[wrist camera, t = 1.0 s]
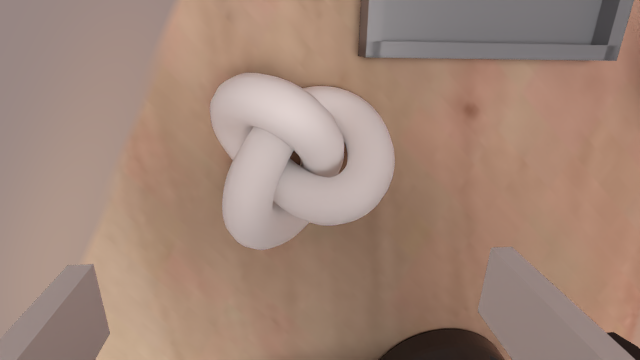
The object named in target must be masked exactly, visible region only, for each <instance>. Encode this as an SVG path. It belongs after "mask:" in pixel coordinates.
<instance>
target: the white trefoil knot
mask: <svg viewBox="0 0 640 360" xmlns="http://www.w3.org/2000/svg"><path fill="white" fill-rule="evenodd" d="M210 116H211V123H212V128H213V130H214V133H215V135H216V137H217V139H218V140H219V142H220V144H221V145H222V147H223V148H224V150H225V151H226V152H227V154H228V155H229V156H230V158H231V159H232V160H233V162H232V164H231V166H230V169H229V171H228V174H227V178H226V181H225V185H224V191H223V200H222V211H223V219H224V222H225V226H226V228H227V229H228V231H229V233H230V234H231V235H232V236H233V237H234V239H235V240H236V241H237V242H238V243H240V244H241V245H243V246H244V247H248V248H253V249H258V250H266V249H271V248H273V247H276V246H279V245H281V244H283V243H285V242H287V241H289V240H290V239H292V238H293V237H295V236H296V235H297V234H298V233H299V232H300V231H302V230H303V229H304V228H305V227H306V226H307V224H308V223H309V222H310V223H313V224H317V225H324V226H334V225H339V224H345V223H349V222H352V221H355V220H358V219H360V218H361V217H363V216H365V215H367V214H368V213H369V212H370V211H371V210H373V209H374V208H375V207H376V206H377V205H378V203H379V202H380V201H381V199H382V198H383V196H384V195H385V193H386V192H387V190H388V188H389V185H390V183H391V180H392V178H393V173H394V166H395V156H394V147H393V144H392V141H391V137H390V134H389V132H388V129H387V127H386V125H385V123H384V122H383V120H382V118H381V116H380V115H379V114H378V113H377V111H376V110H375V109H374V108H373V107H372V106H371V105H370V104H369V103H368V102H366V101H365V100H364V99H363V98H361V97H360V96H358V95H356V94H354V93H352V92H350V91H347V90H344V89H341V88H337V87H330V86H312V87H306V88H301V87H300V86H298V85H296V84H294V83H292V82H290V81H287V80H285V79H282V78H280V77H276V76H271V75H266V74H260V73H243V74H239V75H236V76H234V77H232V78H230V79H228V80H226V81H225V82H223V83H222V84H221V85H219V87H218V89H217V91H216V92H215V94H214V96H213V98H212V100H211V102H210ZM344 143H345V145H346V149H347V159H348V161H347V165H346V167H345V169H344V170H343V171H342V172H341V173H340V174H339V171H340V169H341V167H342V164H343V160H344ZM293 151H295V152H296V153H297V154H298V155H299V157H300V158H301V161H300V166H299V165H298V164H297V163H295V162H294V161H293V160H291V159H290V156H291V155H292V153H293Z"/></svg>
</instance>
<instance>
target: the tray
mask: <svg viewBox="0 0 640 360" xmlns="http://www.w3.org/2000/svg"><path fill="white" fill-rule="evenodd" d="M633 1H634V0H361V11H360V31H359V50H358V56H362V57H375V58H452V59H529V60H607V61H617V57H618V54H619V50H620V47H621V43H622V40H623V36H624V33H625V29H626V26H627V22H628V19H629V15H630V12H631V8H632V5H633Z"/></svg>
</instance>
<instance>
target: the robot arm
mask: <svg viewBox="0 0 640 360" xmlns="http://www.w3.org/2000/svg"><path fill="white" fill-rule="evenodd" d="M478 313H479V314H480V315H481V317H482V318H483V319H484V321H485V322H486V324H487V325H488V326H489V328H490V329H491V331H492V332H493V333H494V335H495V336H496V338H497V339H498V340H499V342H500V343H501V345H502V346H503V347H504V349H505V350H506V352H507V353H508V354H509V356H510V357H511V358H512V360H640V349H639V348H638V347H637V346H636V345H634V344H632V343H631V342H629V341H627V340H626V339H624V338H622V337H621V336H619V335H617V334H616V333H614V332H611V333H606V332H605V331H604V330H602V329H601V328H600V327H599V326H598V325H597V324H596V323H595V322H594V321H593V320H592V319H590V318H589V317H588V316H587V315H586V314H585V313H584V312H583V311H582V310H581V309H579V308H578V307H577V306H576V305H575V304H574V303H573V302H572V301H571V300H570V299H568V298H567V297H566V296H565V295H564V294H563V293H562V292H561V291H560V290H559V289H558V288H556V287H555V286H554V285H553V284H552V283H551V282H550V281H549V280H548V279H547V278H545V277H544V276H543V275H542V274H541V273H540V272H539V271H538V270H537V269H536V268H534V267H533V266H532V265H531V264H530V263H529V262H528V261H527V260H526V259H525V258H523V257H522V256H521V255H520V254H519V253H518V252H517V251H516V250H515V249H514V248H513V247H497V248H491V251H490V255H489V260H488V265H487V270H486V274H485V279H484V284H483V288H482V293H481V298H480V302H479V307H478ZM109 334H110V331H109V327H108V323H107V319H106V315H105V310H104V306H103V302H102V298H101V294H100V290H99V285H98V281H97V277H96V273H95V269H94V264H88V265H67V266H66V267H65V269H64V270H63V271H62V272H61V273H60V274H59V275H58V276H57V277H56V279H54V281H53V282H52V283H51V284H50V285H49V286H48V287H47V288H46V289H45V291H44V292H43V293H42V294H41V295H40V296H39V297H38V298H37V299H36V300H35V301H34V303H33V304H32V305H31V306H30V307H29V308H28V309H27V310H26V311H25V312H24V313H23V314H22V316H21V317H20V318H19V319H18V320H17V321H16V322H15V323H14V325H12V327H11V328H10V329H9V330H8V331H7V332H6V333H5V334H4V335H3V336H2V337H1V339H0V360H95V359H96V357H97V355H98V354H99V352H100V350H101V348H102V346H103V345H104V343H105V341H106V339H107V338H108V336H109ZM380 360H504V358H503V357H502V355H501V354H500V353H499V351H498V350H497V348H496V347H495V346H494V345H493V344H492V343H491V342H490V341H488V340H487V339H486V338H484V337H482V336H480V335H478V334H475V333H472V332H469V331H464V330H454V329H447V330H437V331H431V332H427V333H423V334H420V335H417V336H415V337H412V338H410V339H408V340H406V341H404V342H402V343H400V344H399V345H397V346H396V347H394V348H393V349H391V350H390V351H389V352H388V353H387V354H385V355H384V356H383V357H382V358H381V359H380Z"/></svg>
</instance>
